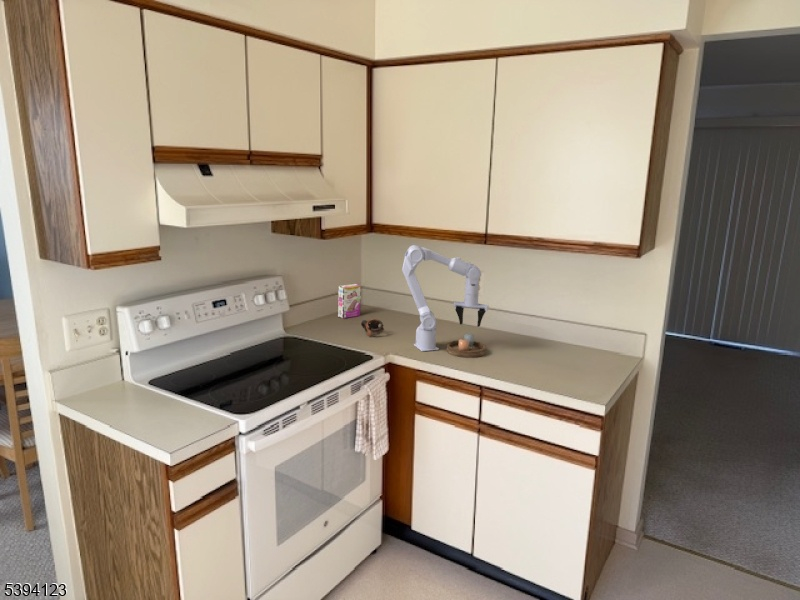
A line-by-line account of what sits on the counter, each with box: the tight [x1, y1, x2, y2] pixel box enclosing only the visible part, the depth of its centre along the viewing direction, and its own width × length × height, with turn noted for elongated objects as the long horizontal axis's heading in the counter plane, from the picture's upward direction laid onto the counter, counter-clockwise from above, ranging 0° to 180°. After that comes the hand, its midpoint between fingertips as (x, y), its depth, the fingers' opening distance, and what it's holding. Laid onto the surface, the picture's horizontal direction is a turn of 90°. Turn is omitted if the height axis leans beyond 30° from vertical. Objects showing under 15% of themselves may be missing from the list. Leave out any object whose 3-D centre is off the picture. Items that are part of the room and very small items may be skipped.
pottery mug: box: [360, 318, 385, 338], centre depth 251 cm, size 12×10×8 cm
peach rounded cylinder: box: [458, 338, 469, 351], centre depth 225 cm, size 4×4×5 cm
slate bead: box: [463, 333, 475, 347], centre depth 233 cm, size 4×4×5 cm
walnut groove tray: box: [446, 339, 486, 359], centre depth 229 cm, size 16×16×2 cm
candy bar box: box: [337, 283, 362, 320], centre depth 279 cm, size 11×5×16 cm, turn 130°
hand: (469, 325), depth 231 cm, fingers open, 7 cm apart
